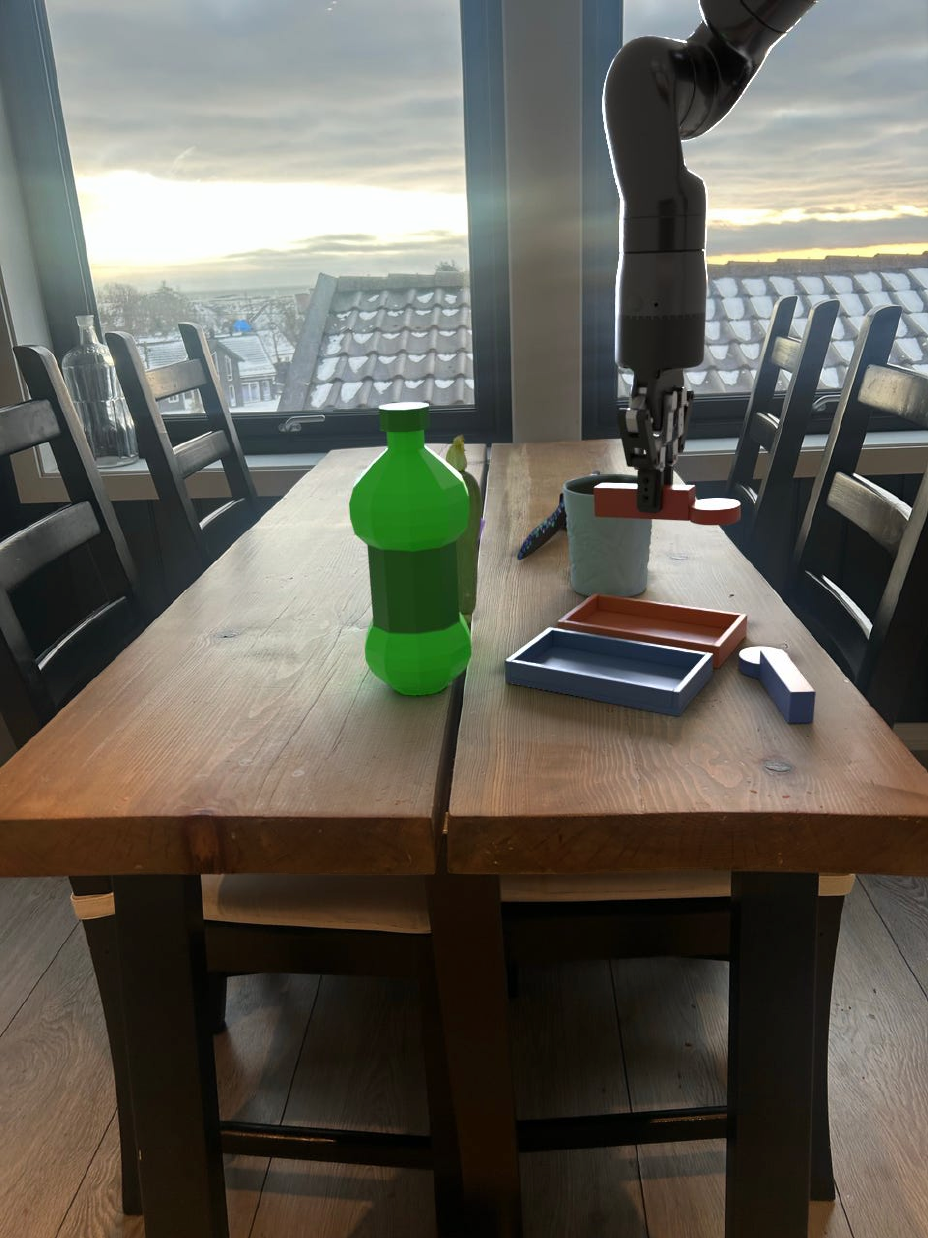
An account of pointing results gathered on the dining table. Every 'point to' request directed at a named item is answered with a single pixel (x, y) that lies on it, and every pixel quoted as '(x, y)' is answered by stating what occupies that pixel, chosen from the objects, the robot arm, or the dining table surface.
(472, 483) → the vegetable
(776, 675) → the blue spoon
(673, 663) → the blue tray
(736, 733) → the dining table surface
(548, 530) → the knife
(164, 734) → the dining table surface
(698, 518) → the red bar with disc
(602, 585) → the green cup
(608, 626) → the red tray
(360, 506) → the plastic bottle
